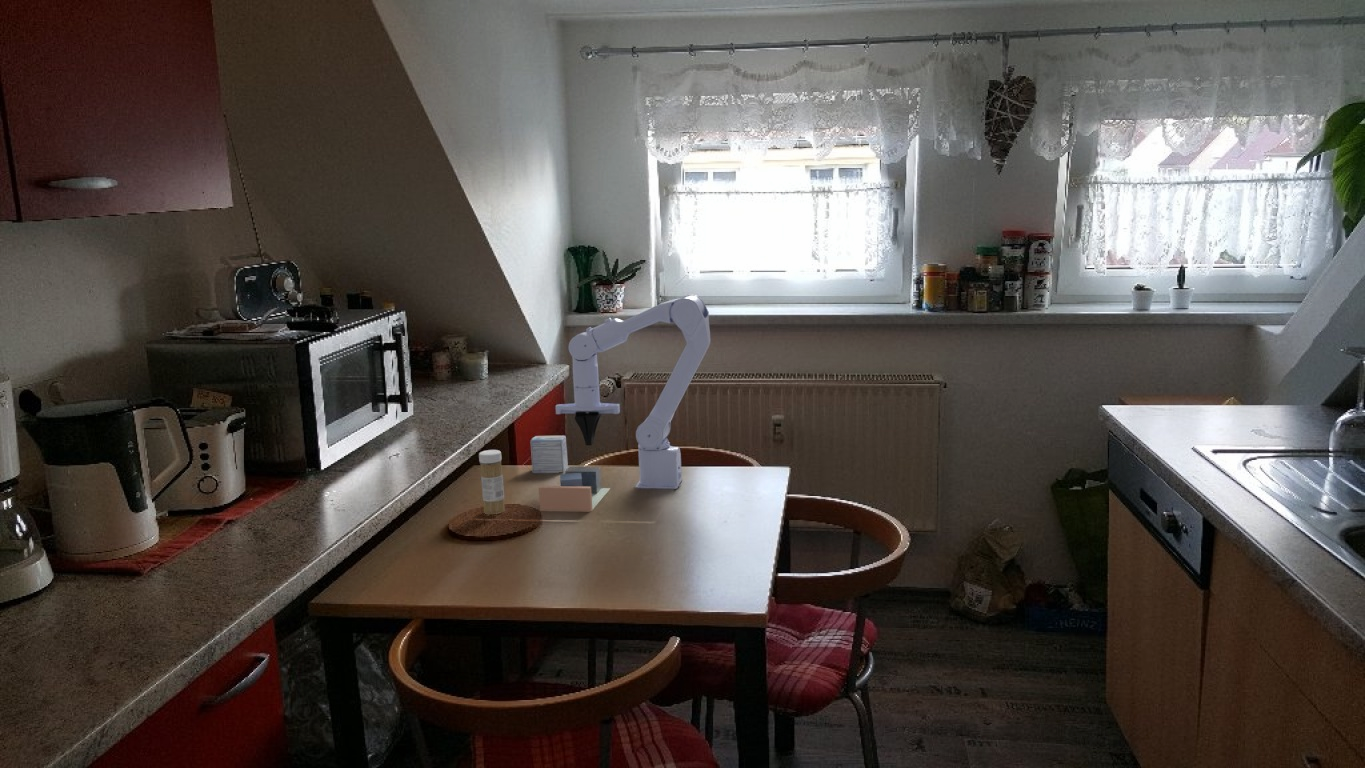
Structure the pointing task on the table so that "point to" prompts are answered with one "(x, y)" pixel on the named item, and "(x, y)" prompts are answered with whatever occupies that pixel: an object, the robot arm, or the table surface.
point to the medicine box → (549, 454)
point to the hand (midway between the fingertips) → (589, 444)
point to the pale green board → (569, 498)
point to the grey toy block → (588, 477)
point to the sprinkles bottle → (492, 481)
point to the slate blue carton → (571, 479)
